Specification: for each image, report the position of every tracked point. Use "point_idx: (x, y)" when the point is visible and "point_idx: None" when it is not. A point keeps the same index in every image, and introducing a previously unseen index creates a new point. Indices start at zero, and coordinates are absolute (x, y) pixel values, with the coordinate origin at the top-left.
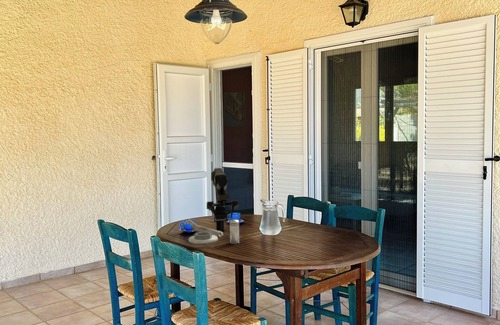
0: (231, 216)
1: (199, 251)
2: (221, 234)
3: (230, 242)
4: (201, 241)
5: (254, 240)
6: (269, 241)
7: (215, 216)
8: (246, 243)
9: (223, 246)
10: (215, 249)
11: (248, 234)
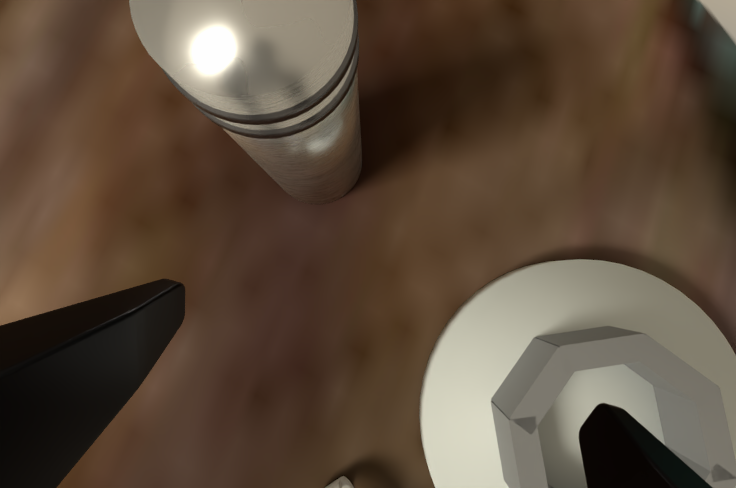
0: (153, 286)
1: (713, 31)
2: (341, 486)
3: (361, 160)
4: (649, 274)
5: (113, 147)
6: (10, 42)
7: (649, 444)
8: None
9: (463, 85)
10: (563, 25)
11: None
